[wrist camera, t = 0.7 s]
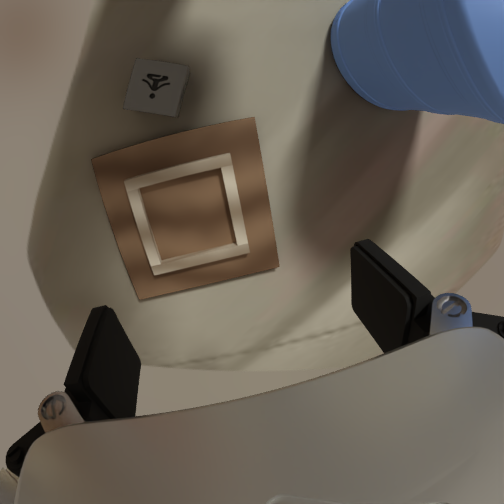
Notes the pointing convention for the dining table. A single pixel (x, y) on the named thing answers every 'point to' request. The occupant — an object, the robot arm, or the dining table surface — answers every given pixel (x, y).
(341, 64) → the water jug
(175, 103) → the dice cube
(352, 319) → the dining table surface
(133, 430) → the robot arm
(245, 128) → the pocket board
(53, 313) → the dining table surface
